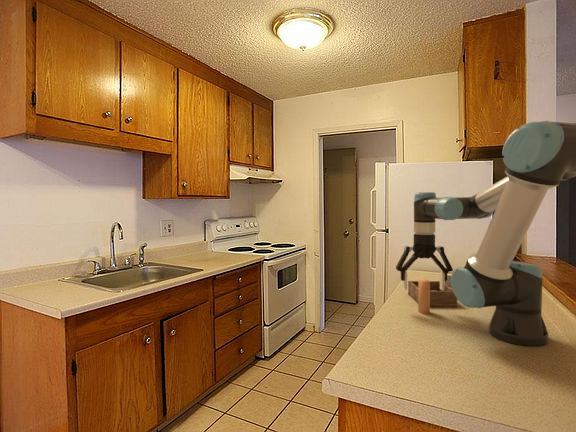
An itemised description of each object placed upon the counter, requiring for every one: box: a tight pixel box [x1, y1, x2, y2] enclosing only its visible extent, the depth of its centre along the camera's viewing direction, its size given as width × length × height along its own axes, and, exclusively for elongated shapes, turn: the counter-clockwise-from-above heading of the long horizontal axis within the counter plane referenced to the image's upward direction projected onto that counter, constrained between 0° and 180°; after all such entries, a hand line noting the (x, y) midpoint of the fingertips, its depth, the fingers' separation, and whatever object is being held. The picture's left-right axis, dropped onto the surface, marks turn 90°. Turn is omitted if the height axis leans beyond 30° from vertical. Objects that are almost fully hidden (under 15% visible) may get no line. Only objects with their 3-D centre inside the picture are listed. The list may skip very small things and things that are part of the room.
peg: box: [417, 279, 431, 315], centre depth 127 cm, size 4×4×12 cm
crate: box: [407, 280, 458, 308], centre depth 142 cm, size 18×14×6 cm
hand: (423, 289), depth 127 cm, fingers open, 13 cm apart
